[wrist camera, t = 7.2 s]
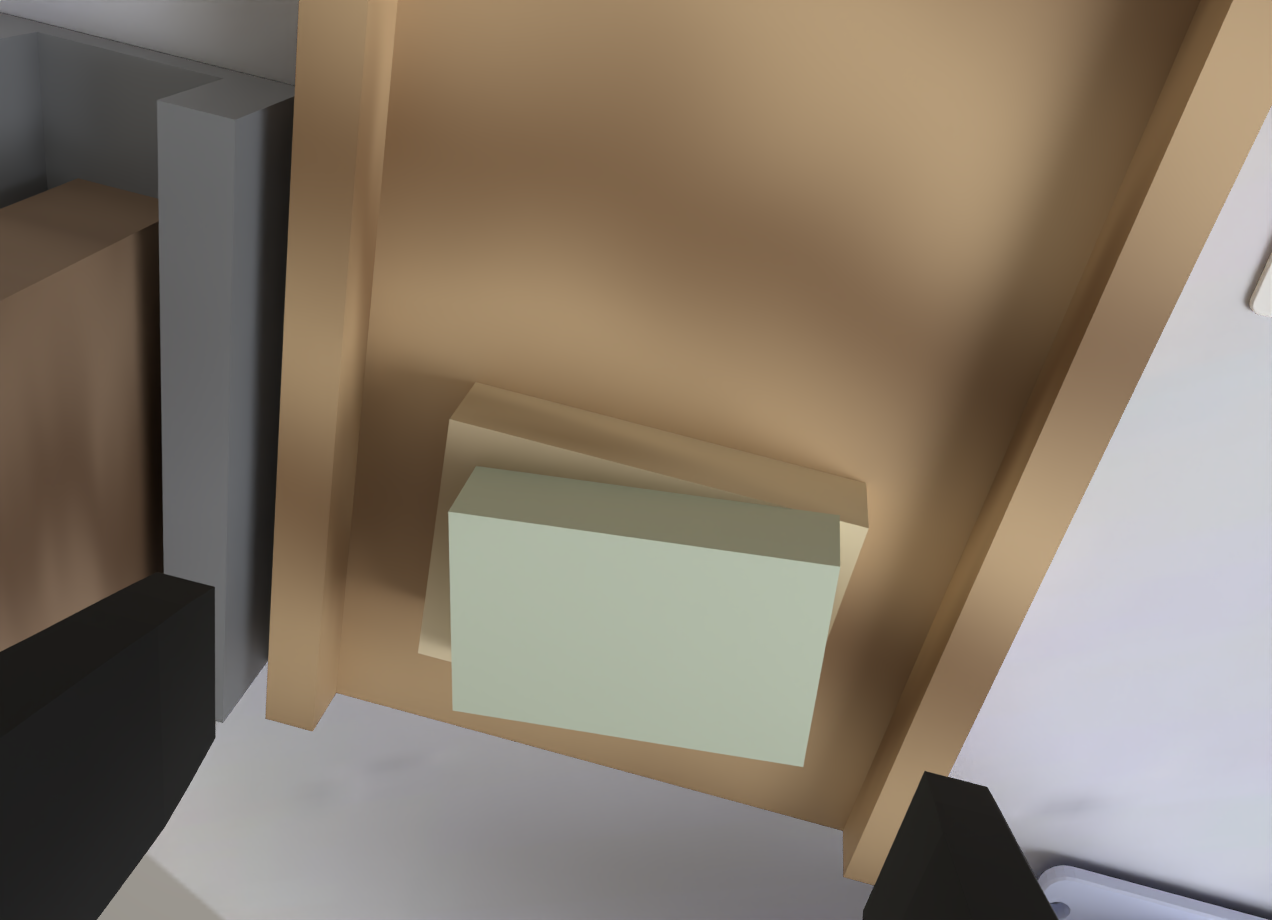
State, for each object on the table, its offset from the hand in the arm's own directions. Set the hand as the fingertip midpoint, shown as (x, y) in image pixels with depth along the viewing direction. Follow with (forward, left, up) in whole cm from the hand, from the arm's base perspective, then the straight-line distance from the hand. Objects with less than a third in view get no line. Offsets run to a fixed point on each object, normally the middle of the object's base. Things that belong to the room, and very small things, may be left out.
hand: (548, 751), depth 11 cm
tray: (+2, 0, -10) cm, 10 cm away
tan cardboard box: (-3, +10, -9) cm, 14 cm away
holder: (-3, +10, -10) cm, 14 cm away
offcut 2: (-3, 0, -7) cm, 8 cm away
